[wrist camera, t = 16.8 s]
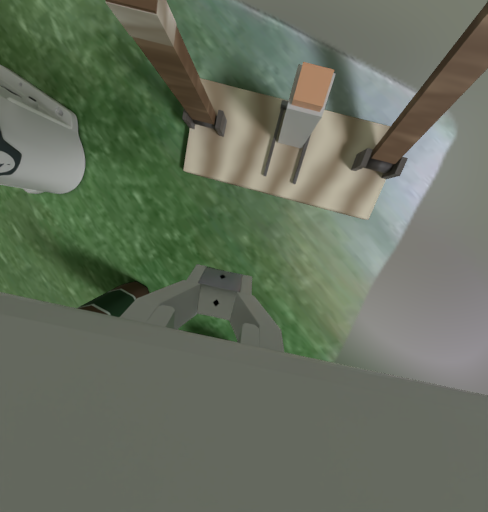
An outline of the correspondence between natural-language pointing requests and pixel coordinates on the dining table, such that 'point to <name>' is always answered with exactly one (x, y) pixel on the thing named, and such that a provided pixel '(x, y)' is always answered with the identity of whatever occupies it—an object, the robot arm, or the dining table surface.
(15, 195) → the dining table surface
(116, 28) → the dining table surface
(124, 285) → the beer bottle
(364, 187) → the panel
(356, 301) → the dining table surface
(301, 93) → the slider
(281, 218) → the dining table surface
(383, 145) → the wooden stick
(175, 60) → the brown lever
